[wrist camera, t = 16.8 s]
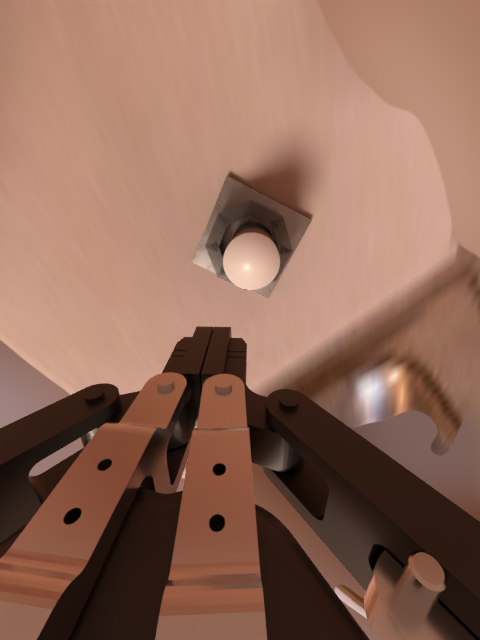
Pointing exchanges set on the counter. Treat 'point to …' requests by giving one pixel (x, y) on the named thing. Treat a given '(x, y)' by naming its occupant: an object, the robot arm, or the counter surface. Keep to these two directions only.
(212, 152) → the counter surface
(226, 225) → the hex nut base plate
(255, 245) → the grey round peg
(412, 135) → the counter surface
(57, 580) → the robot arm
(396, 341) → the counter surface
